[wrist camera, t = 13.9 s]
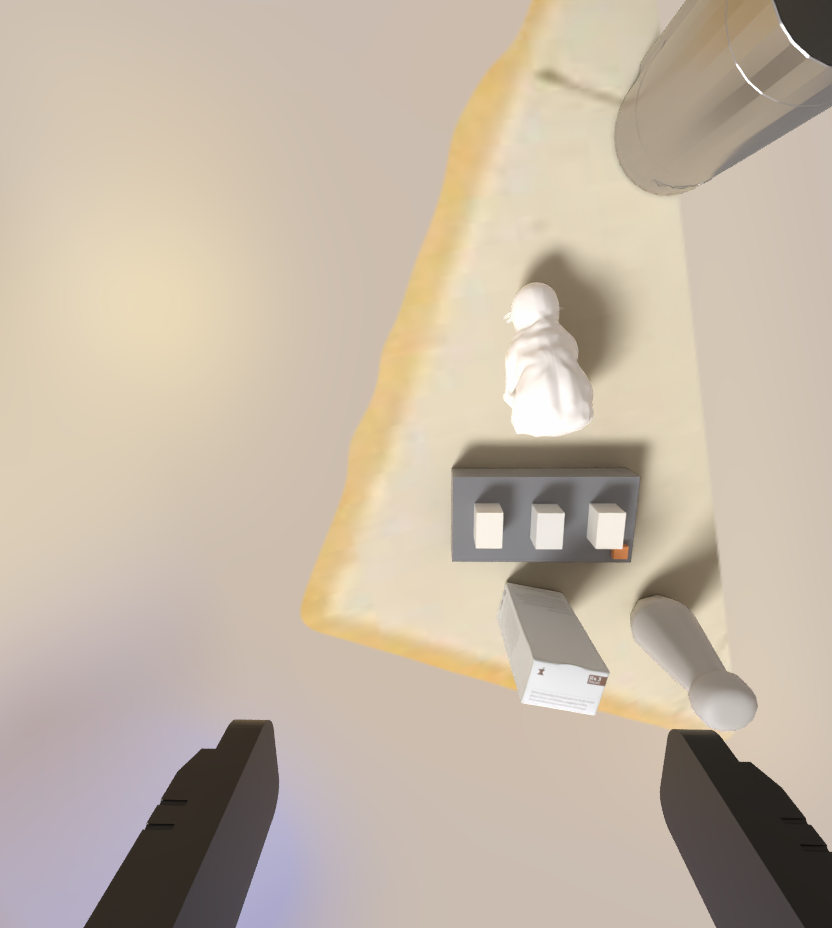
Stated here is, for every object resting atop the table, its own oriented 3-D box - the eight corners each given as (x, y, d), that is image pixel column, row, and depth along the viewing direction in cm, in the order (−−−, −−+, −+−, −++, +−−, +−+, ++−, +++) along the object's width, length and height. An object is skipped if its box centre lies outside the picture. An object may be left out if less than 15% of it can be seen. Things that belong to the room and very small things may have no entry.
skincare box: (495, 617, 47) (515, 708, 35) (505, 578, 46) (530, 658, 34) (555, 628, 47) (595, 722, 35) (566, 589, 46) (612, 673, 34)
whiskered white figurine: (520, 445, 33) (500, 273, 32) (504, 434, 42) (487, 298, 40) (610, 432, 33) (593, 257, 31) (575, 424, 41) (561, 285, 40)
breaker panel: (451, 468, 43) (453, 485, 38) (626, 467, 42) (653, 484, 37) (451, 547, 45) (453, 574, 40) (617, 548, 44) (642, 575, 39)
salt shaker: (683, 585, 45) (779, 678, 33) (681, 636, 47) (772, 744, 34) (622, 589, 45) (694, 682, 33) (621, 640, 47) (690, 748, 34)
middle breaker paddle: (531, 503, 40) (537, 513, 38) (557, 503, 40) (564, 513, 38) (530, 537, 41) (535, 549, 39) (555, 537, 41) (562, 549, 39)
